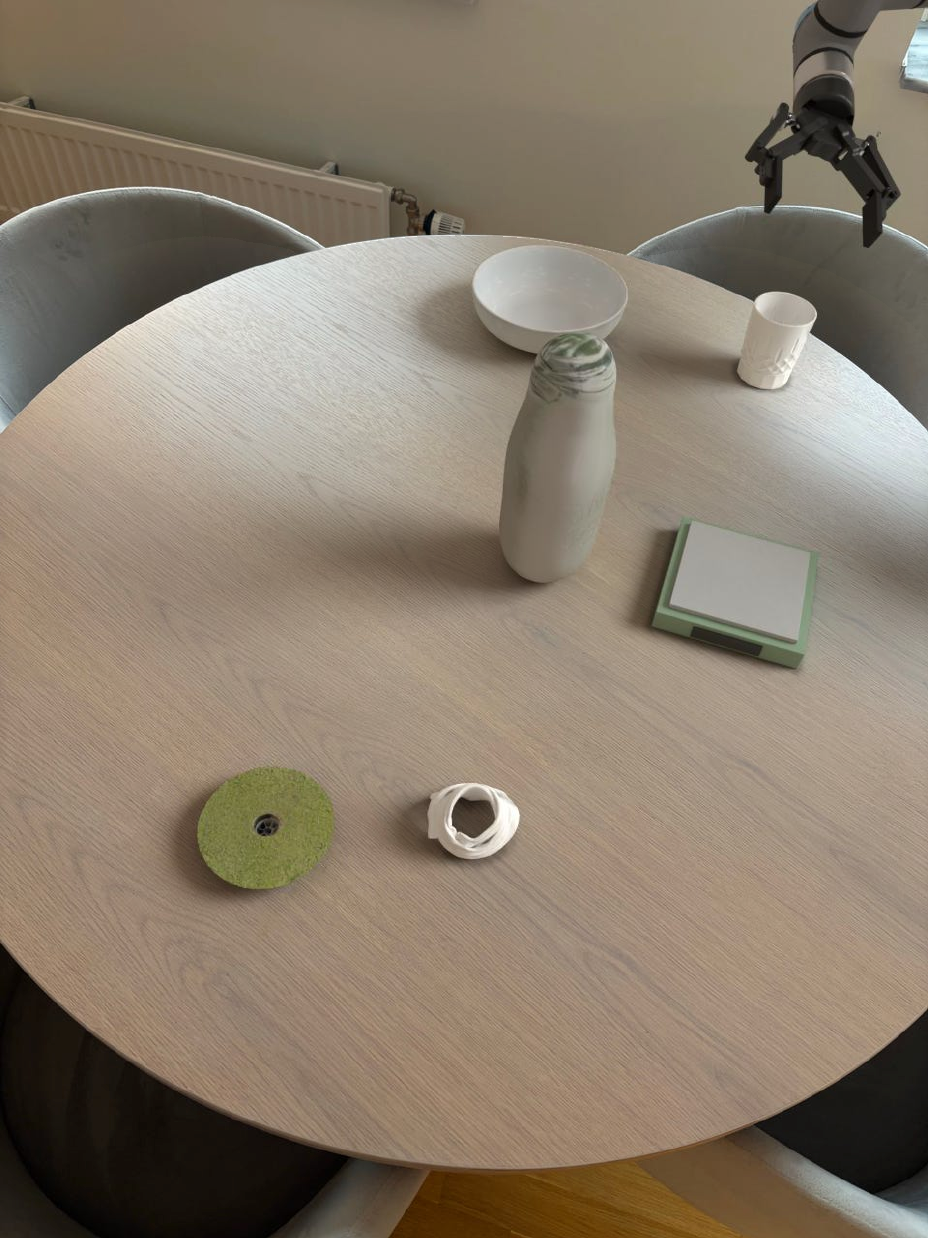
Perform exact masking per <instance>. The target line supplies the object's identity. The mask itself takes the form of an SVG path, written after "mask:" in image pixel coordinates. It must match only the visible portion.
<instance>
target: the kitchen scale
mask: <svg viewBox="0 0 928 1238" xmlns="http://www.w3.org/2000/svg"><path fill="white" fill-rule="evenodd" d="M819 556H820V553H819V552H817V551H813V550H810V549H806V548H802V547H800V546H799V547H798V546H795V545H791V544H787V543H784V542H780V541H776V540H772V539H769V538H765V537H762V536H758V535H754V534H751V533H747V532H744V531H739V530H737V529H732V528H729V527H725V526H721V525H718V524H714V523H712V522H711V523H710V522H706V521H703V520H699V519H696V518H692V517H688V516H686V515H685V516H684V515H683V516H682V519H681V522H680V525H679V528H678V531H677V534H676V538H675V541H674V545H673V548H672V552H671V556H670V558H669V563H668V566H667V569H666V573H665V577H664V581H663V584H662V587H661V591H660V594H659V598H658V601H657V604H656V609H655V612H654V616H653V619H652V623H651V627H653V628H655V629H660V630H661V631H665V632H669V633H673V634H675V635H679V636H683V637H687V638H690V639H693V640H696V641H700V642H703V643H705V644H706V643H707V644H710V645H714V646H717V647H721V648H724V649H727V650H729V651H734V652H737V653H741V654H744V655H747V656H751V657H754V658H758V659H762V660H765V661H768V662H771V663H775V664H779V665H781V666H785V667H788V668H791V669H795V670H796V669H797V670H798V668H799V666H800V664H801V662H802V660H803V659H804V657H805V655H806V649H807V641H808V633H809V627H810V621H811V611H812V607H813V600H814V599H813V598H814V591H815V584H816V577H817V570H818V569H817V568H818V564H819V563H818V562H819Z"/></svg>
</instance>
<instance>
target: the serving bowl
mask: <svg viewBox="0 0 928 1238" xmlns="http://www.w3.org/2000/svg"><path fill="white" fill-rule="evenodd" d="M470 286H471V295H472V301H473V306H474V309H475V311H476V313H477V316H478V318H479V320H480V321H481V322H482V324H483V325H484V326H485V327H486V328H487V330H488V331H489V332H490V333H491V334H492V335H493V336H495V337H496V338H497V339H499V340H500V341H502V342H503V343H505V344H507V345H509V346H510V347H513V348H515V349H517V350H521V351H524V352H527V353H532V354H538V353H539V351H540V350H541V349H542V347H543V346H544V345H545V344H546V343H548V342H549V341H550V340H552V339H554V338H555V337H558V336H560V335H564V334H567V333H574V332H584V333H590V334H592V335H595V336H597V337H600V338H602V340H604V339H605V338H607V337H608V336H609V335H610V334H611V333H612V332H613V331H614V329H615V328H616V327H617V325H618V324H619V323H620V321H621V319H622V317H623V314H624V312H625V309H626V307H627V304H628V301H629V289H628V286H627V283H626V281H625V280H624V277H623V276H622V275H621V273H619V272H618V271H617V270H616V269H615V268H614V267H612V266H611V265H610V264H609V263H607V262H605V261H604V260H603V259H600V258H598V257H596V256H595V255H592V254H589V253H587V252H584V251H581V250H578V249H574V248H569V247H566V246H565V247H564V246H559V245H549V244H545V245H544V244H534V245H531V244H530V245H522V246H516V247H511V248H507V249H505V250H501V251H499V252H496V253H494V254H493V255H490V256H489V257H487V258H486V259H484V260H483V261H482V262H480V264H479V265H477V267H476V268H475V270H474V272H473V274H472V277H471V281H470Z"/></svg>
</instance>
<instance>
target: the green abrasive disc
mask: <svg viewBox="0 0 928 1238" xmlns="http://www.w3.org/2000/svg"><path fill="white" fill-rule="evenodd" d="M334 831H335V813H334V809H333V805H332V802H331V800H330V797H329V796H328V794H327V792H326V791H325V790H324V788H323V787H322V786H321V785H320V784H319V783H318V782H317V781H316V780H315V779H314V778H312V777H310V776H309V775H307V774H306V773H303V772H301V771H298V770H297V769H292V768H288V767H285V766H274V765H273V766H262V767H255V768H251V769H250V770H246V771H244V772H241V773H239V774H237V775H235V776H233V777H231V778H229V779H228V780H226V781H225V782H224V783H223V784H222V785H220V786H219V787H218V788H217V789H215V791H214V792H213V793H212V794H211V796H210V797H209V798H208V799H207V801H206V803H205V805H204V807H203V809H202V811H201V813H200V817H199V819H198V823H197V834H196V835H197V836H196V837H197V843H198V849H199V851H200V854H201V856H202V859H203V861H204V862H205V864H206V865H207V867H208V868H210V870H211V872H213V873H214V874H215V875H216V876H218V877H219V878H220V879H222V880H224V881H226V882H228V883H229V884H231V885H233V886H238V887H240V888H242V889H252V890H262V889H263V890H266V889H274V888H279V887H282V886H285V885H288V884H291V883H293V882H295V881H298V879H300V878H302V877H304V876H305V875H306V874H307V873H309V872H310V871H311V870H312V869H313V868H315V866H316V865H317V864H318V863H319V862H320V860H321V859H322V858H323V857H324V855H325V854H326V852H327V851H328V848H329V846H330V845H331V842H332V839H333V836H334Z"/></svg>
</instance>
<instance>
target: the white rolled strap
mask: <svg viewBox="0 0 928 1238" xmlns="http://www.w3.org/2000/svg"><path fill="white" fill-rule="evenodd" d="M460 798H463V799H465V800H467V801H472V802H473V801H476V802H477V801H488V802H489V803H490V805H491V807H492V810H493V815H494V821H493V822H492V824H491V825H490V826H489V827H488V828H487V829H485V830H484V831H483V832H482V833H481V834H479V835H478V836H477V837H474V838H473V837H469V836H468V835H467V834H465V833H463V832H462V831H457V829H456V828H455V827H454V826H453V818H452V813H453V810H454V808H455V805H456V803H457V802H458V800H459V799H460ZM429 799H431V801H430V802H429V805H428V810H427V820H428V827H427V837H428V839H433V840H434V839H437V840H438V841H439V843H440V844H441V845H442V847H443V848H444V849H445V850H446V851H448V852H449V853H451V854H452V855H454V856H456V857H457V858H460V859H467V860H479V859H484V858H487V857H490V856H492V855H493V854H496V853H498V851H499V850H501V849H502V848H503V847H504V846H505V845H506V844H508V842H509V841H510V840H511V839H512V838H513V837H514V835H515V833H516V831H517V829H518V827H519V824H520V817H521V816H520V811H519V809H518V807H517V806H516V804H515V803H514V801H513V800H512V799H511V798H509V796H508V795H507V794H506V792H504V791H503V790H501V789H498V788H495V787H491V786H489V785H487V784H484V783H476V782H468V783H464V782H463V783H457V784H452V785H449V786H446V787H443V788H442V789H440V790H439V791H437V792H433V793H431V794H430V797H429Z"/></svg>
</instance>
